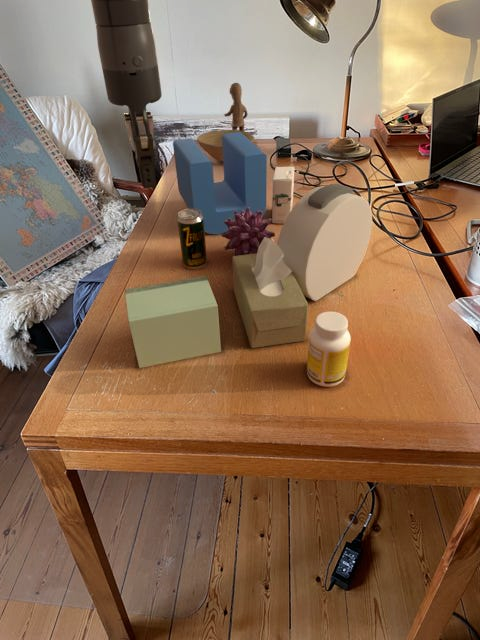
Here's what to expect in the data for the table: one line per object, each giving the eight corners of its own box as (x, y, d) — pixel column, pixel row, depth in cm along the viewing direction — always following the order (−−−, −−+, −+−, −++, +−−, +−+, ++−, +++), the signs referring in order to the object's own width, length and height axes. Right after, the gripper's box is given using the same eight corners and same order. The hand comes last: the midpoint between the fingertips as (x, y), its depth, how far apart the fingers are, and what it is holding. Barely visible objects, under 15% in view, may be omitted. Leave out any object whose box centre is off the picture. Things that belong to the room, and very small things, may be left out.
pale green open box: (139, 368, 76) (128, 321, 70) (134, 334, 83) (124, 289, 77) (221, 352, 79) (217, 305, 72) (210, 320, 85) (206, 275, 79)
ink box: (274, 209, 122) (275, 165, 115) (292, 209, 122) (294, 165, 114) (271, 223, 115) (271, 178, 108) (291, 224, 115) (293, 178, 107)
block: (243, 198, 128) (241, 131, 117) (266, 225, 115) (266, 153, 104) (180, 208, 124) (172, 140, 113) (196, 238, 111) (189, 164, 100)
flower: (219, 272, 101) (229, 237, 109) (273, 274, 99) (279, 238, 106) (211, 231, 93) (222, 196, 100) (270, 232, 90) (277, 196, 98)
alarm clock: (336, 256, 102) (348, 168, 90) (365, 268, 98) (382, 178, 86) (272, 294, 90) (277, 198, 78) (302, 310, 86) (311, 211, 74)
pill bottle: (347, 365, 75) (356, 312, 68) (341, 392, 71) (350, 338, 64) (310, 357, 77) (315, 304, 70) (302, 383, 72) (306, 329, 65)
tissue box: (306, 342, 80) (312, 264, 70) (251, 350, 79) (250, 272, 69) (279, 283, 94) (281, 212, 85) (233, 289, 93) (229, 218, 83)
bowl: (252, 150, 159) (252, 126, 154) (256, 169, 145) (256, 144, 140) (199, 153, 159) (197, 129, 154) (198, 172, 145) (196, 147, 140)
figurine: (243, 139, 169) (241, 79, 157) (254, 144, 164) (254, 83, 152) (222, 144, 166) (219, 83, 153) (233, 149, 161) (231, 87, 148)
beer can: (180, 260, 103) (173, 211, 95) (202, 255, 104) (198, 206, 97) (187, 272, 99) (181, 221, 91) (210, 266, 100) (206, 216, 93)
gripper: (100, 57, 66) (122, 174, 77) (102, 74, 56) (128, 206, 67) (151, 53, 68) (167, 168, 79) (163, 69, 58) (179, 199, 68)
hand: (149, 185), depth 73 cm, fingers closed
